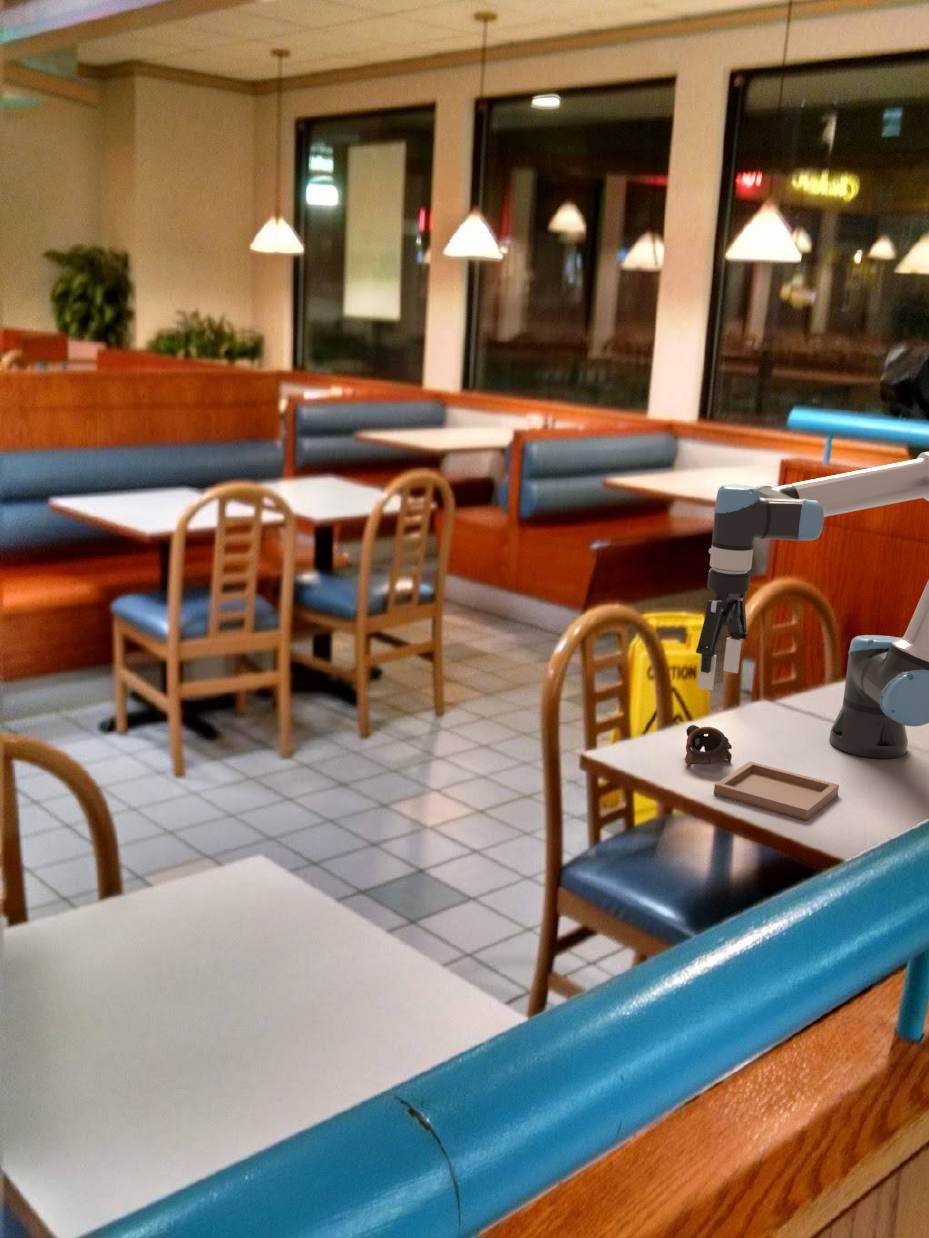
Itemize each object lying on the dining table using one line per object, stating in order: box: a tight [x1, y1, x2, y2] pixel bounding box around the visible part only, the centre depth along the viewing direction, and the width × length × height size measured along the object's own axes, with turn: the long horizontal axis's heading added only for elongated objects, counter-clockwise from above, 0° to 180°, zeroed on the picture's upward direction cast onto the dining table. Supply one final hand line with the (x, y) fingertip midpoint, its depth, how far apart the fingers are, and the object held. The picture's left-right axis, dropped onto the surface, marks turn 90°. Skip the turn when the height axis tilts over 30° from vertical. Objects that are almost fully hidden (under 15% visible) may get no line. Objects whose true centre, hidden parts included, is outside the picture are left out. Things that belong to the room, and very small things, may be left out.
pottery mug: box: [684, 724, 733, 767], centre depth 235 cm, size 12×10×8 cm
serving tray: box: [713, 760, 840, 822], centre depth 220 cm, size 15×17×2 cm
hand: (718, 680), depth 228 cm, fingers open, 13 cm apart
